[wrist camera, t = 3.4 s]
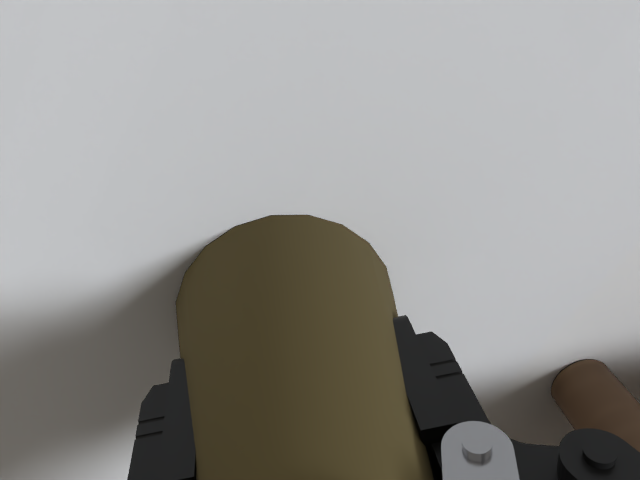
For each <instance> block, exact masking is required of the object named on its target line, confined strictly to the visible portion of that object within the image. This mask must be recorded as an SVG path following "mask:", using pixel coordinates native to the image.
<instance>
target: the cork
mask: <svg viewBox="0 0 640 480" xmlns="http://www.w3.org/2000/svg"><path fill="white" fill-rule="evenodd" d="M176 312H177V324H178V336H179V347H180V358H183V359H184V362H185V370H186V378H187V386H188V394H189V402H190V410H191V418H192V426H193V434H194V442H195V450H196V480H434V478H433V473H432V469H431V465H430V461H429V457H428V454H427V450H426V446H425V445H424V444H423V443H422V442H421V438H420V435H419V432H418V429H417V426H416V423H415V419H414V416H413V413H412V410H411V407H410V403H409V400H408V397H407V394H406V390H405V384H404V379H403V374H402V368H401V363H400V357H399V352H398V346H397V341H396V336H395V330H394V325H393V318H394V317H398V314H397V310H396V305H395V301H394V296H393V292H392V288H391V284H390V280H389V276H388V272H387V268H386V266H385V265H384V263H383V262H382V260H381V259H380V258H379V256H378V255H377V253H376V252H375V251H374V249H373V248H372V246H371V245H370V244H369V243H368V242H367V241H366V240H364V239H363V238H361V237H360V236H358V235H357V234H355V233H354V232H352V231H351V230H349V229H348V228H346V227H345V226H343V225H342V224H338V223H335V222H331V221H328V220H324V219H321V218H317V217H314V216H310V215H271V216H268V217H265V218H261V219H258V220H255V221H252V222H248V223H245V224H242V225H239V226H235V227H234V228H232V229H231V230H229V231H228V232H226V233H225V234H223V235H222V236H220V237H219V238H217V239H216V240H214V241H213V242H211V243H210V244H208V245H207V246H206V247H205V248H204V249H203V250H202V252H201V253H200V254H199V255H198V257H197V258H196V259H195V261H194V262H193V263H192V264H191V266H190V267H189V268H188V270H187V271H186V272H185V274H184V278H183V281H182V284H181V287H180V290H179V293H178V297H177V300H176Z"/></svg>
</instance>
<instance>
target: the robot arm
mask: <svg viewBox="0 0 640 480" xmlns="http://www.w3.org/2000/svg"><path fill="white" fill-rule="evenodd" d="M393 325H394V330H395V336H396V341H397V346H398V352H399V357H400V363H401V368H402V374H403V379H404V384H405V390H406V394H407V397H408V400H409V403H410V407H411V410H412V413H413V416H414V419H415V423H416V426H417V429H418V432H419V435H420V438H421V442H422V443H423V444H424V445H425V446H426V450H427V454H428V457H429V461H430V465H431V469H432V473H433V478H434V480H640V452H639V451H637V450H636V449H635V448H633V447H632V446H631V445H630V444H628V443H627V442H626V441H624V440H623V439H621V438H620V437H618V436H616V435H614V434H612V433H610V432H607V431H604V430H600V429H593V428H584V429H578V430H574V431H572V432H570V433H568V434H567V435H566V436H565V437H564V438H563V439H562V441H561V442H560V446H546V445H532V444H525V443H521V442H517V441H515V440H512V439H510V438H509V437H508V436H507V435H506V434H505V433H504V432H503V431H502V430H500V429H499V428H497V427H495V426H493V425H491V423H490V422H489V420H488V419H487V417H486V415H485V413H484V411H483V409H482V407H481V406H480V404H479V402H478V400H477V398H476V396H475V394H474V392H473V391H472V389H471V387H470V385H469V383H468V381H467V379H466V378H465V376H464V374H462V370H461V368H460V366H459V364H458V363H457V362H456V360H455V357H454V355H453V353H452V351H451V350H450V348H449V346H448V344H447V343H446V342H445V341H443V340H442V339H441V338H439V337H438V336H437V335H436V334H434V333H433V332H427V333H422V334H417V335H416V334H415V332H414V330H413V328H412V325H411V323H410V321H409V319H408V317H407V316H406V315H404V316H399V317H394V318H393ZM138 422H139V425H137V431H136V440H135V442H134V447H133V453H132V458H131V464H130V469H129V474H128V480H196V450H195V442H194V434H193V426H192V418H191V410H190V402H189V394H188V386H187V378H186V370H185V362H184V359H183V358H181V359H176V360H173V361H172V364H171V371H170V379H169V383H165V384H160V385H155V386H153V387H152V389H151V390H150V392H149V393H148V395H147V396H146V398H145V399H144V400H143V402H142V404H141V409H140V415H139V420H138Z"/></svg>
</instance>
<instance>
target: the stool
mask: <svg viewBox="0 0 640 480" xmlns="http://www.w3.org/2000/svg"><path fill="white" fill-rule="evenodd" d="M551 394H552V397H553V399H554V400H555V402H556V403H557V405H558V406H559V408H560V409H561V410H562V412H563V413H564V415H565V416H566V418H567V419H568V420H569V422H570V423H571V425H572V426H573V428H574V429H575V430H578V429H584V428H593V429H600V430H604V431H607V432H610V433H612V434H614V435H616V436H618V437H620V438H621V439H623V440H624V441H626V442H627V443H628V444H630V445H631V446H632V447H633V448H635V449H636V450H637V451H639V452H640V404H639V403H638V402H637V400H636V399H635V398H634V397H633V396H632V395H631V394H630V392H629V391H628V390H627V389H626V388H625V387H624V386H623V384H622V383H621V382H620V381H619V380H618V379H617V378H616V376H615V375H614V374H613V373H612V372H611V371H610V370H609V368H608V367H607V366H606V365H605V364H604V363H602V362H600V361H598V360H582V361H579V362H576V363H573V364H571V365H570V366H568V367H566V368H565V369H564V370H562V371H561V372H560V373H559V374H558V376H557V377H556V378H555V380H554V382H553V384H552V388H551Z"/></svg>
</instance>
